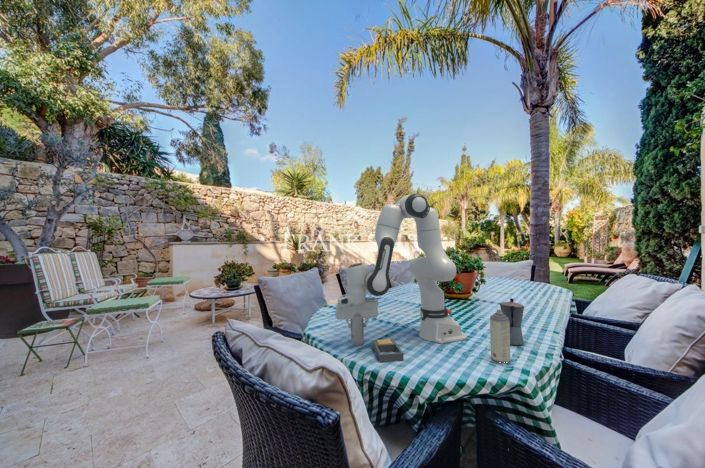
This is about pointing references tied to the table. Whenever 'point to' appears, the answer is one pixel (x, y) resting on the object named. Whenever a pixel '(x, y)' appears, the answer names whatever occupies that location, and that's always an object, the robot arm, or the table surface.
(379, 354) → the socket block
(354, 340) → the energy drink can
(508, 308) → the moka pot
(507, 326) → the aerosol can
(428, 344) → the table surface
